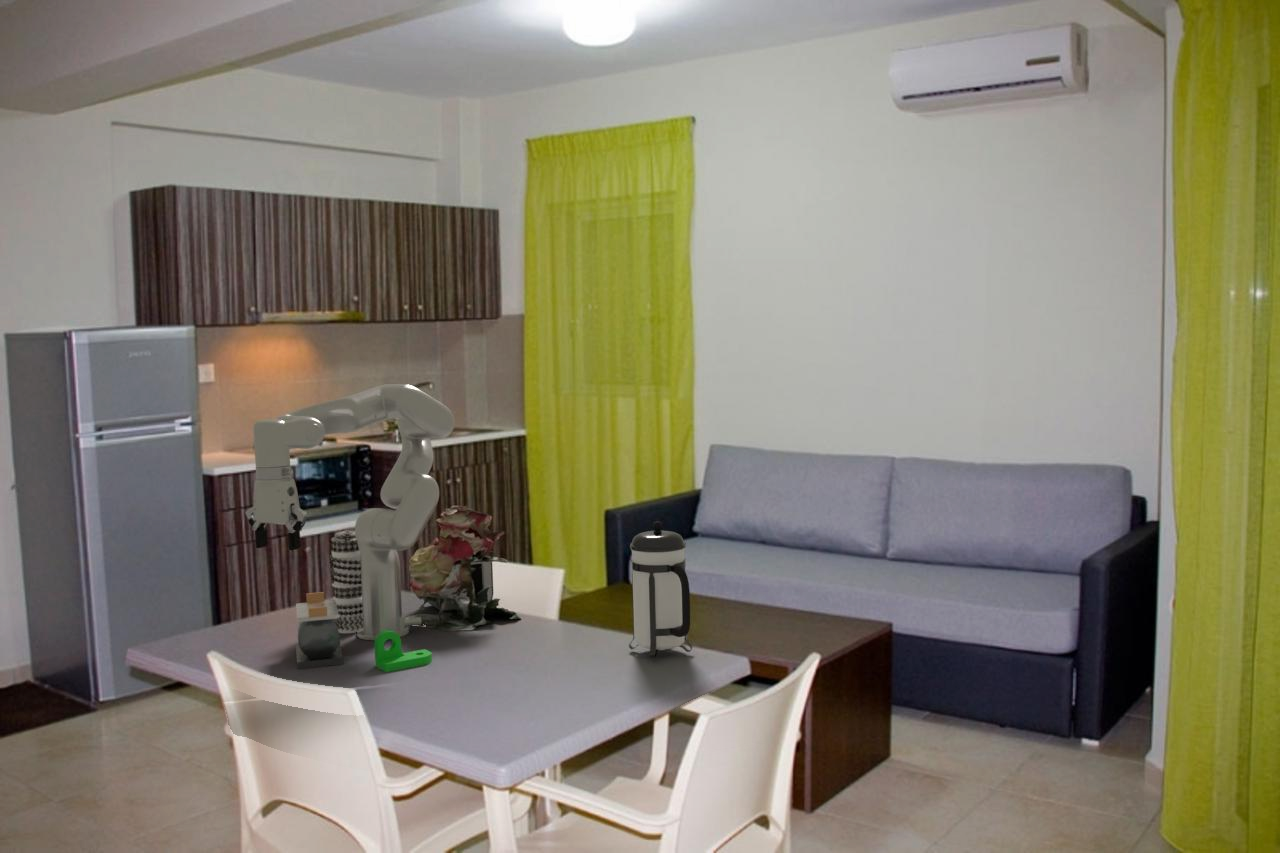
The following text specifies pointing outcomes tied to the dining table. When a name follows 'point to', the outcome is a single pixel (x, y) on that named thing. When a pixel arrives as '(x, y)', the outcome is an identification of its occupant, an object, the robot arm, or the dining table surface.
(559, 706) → the dining table surface
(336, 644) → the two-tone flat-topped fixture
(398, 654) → the mechanical part
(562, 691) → the dining table surface
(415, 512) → the robot arm
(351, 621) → the decorative candle
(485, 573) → the alarm clock
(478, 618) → the rose bouquet
